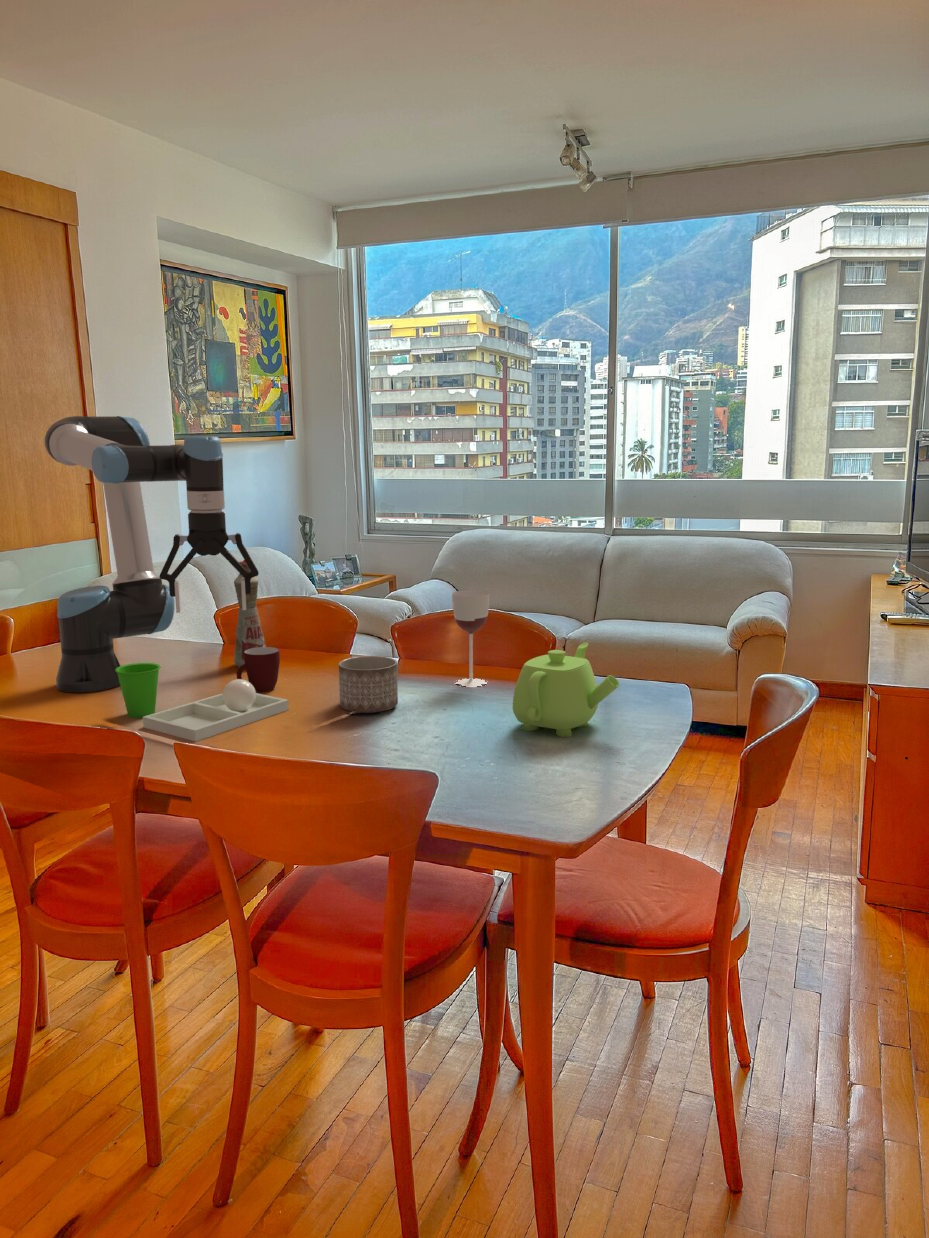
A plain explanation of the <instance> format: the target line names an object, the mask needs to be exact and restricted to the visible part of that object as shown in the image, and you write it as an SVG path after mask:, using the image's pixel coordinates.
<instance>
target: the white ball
mask: <svg viewBox="0 0 929 1238" xmlns="http://www.w3.org/2000/svg"><path fill="white" fill-rule="evenodd" d="M222 693H223V694H222ZM222 693H221V694H222V698H223V702H224V704H225V705H226V707H228V708H229V709H230V710H232V711H236V712H243V711H246V710H248V709H249V708H250V707H251V706H252V705H253V704H254V702H255V699H256V693H257V692H256V691H255V688H254V687H253V685H252V684H251V683H250V682H249V681H248V680H246V679H243V678H242V679H237V678H236V679H233V680H231V681H229V682H228V683H227V684H226V685H225V686H224V688H223V690H222Z"/></svg>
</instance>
